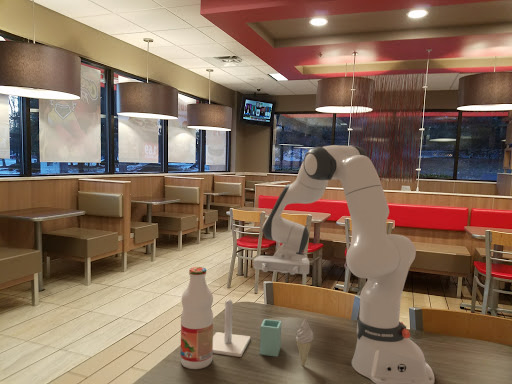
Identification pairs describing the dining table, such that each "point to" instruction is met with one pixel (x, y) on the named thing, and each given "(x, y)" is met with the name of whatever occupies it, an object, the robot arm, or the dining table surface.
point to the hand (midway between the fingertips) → (278, 271)
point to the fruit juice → (197, 322)
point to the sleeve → (270, 337)
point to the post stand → (229, 337)
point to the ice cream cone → (304, 340)
